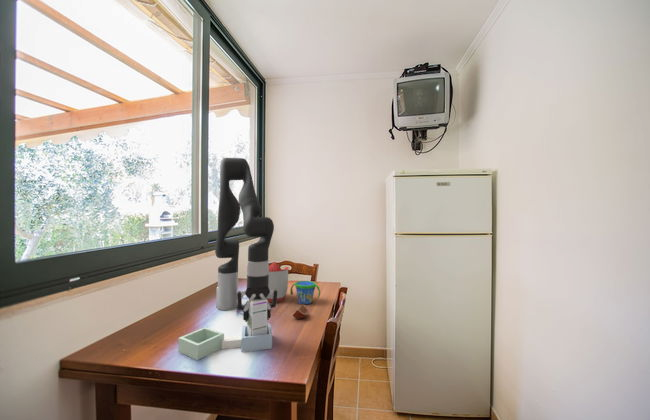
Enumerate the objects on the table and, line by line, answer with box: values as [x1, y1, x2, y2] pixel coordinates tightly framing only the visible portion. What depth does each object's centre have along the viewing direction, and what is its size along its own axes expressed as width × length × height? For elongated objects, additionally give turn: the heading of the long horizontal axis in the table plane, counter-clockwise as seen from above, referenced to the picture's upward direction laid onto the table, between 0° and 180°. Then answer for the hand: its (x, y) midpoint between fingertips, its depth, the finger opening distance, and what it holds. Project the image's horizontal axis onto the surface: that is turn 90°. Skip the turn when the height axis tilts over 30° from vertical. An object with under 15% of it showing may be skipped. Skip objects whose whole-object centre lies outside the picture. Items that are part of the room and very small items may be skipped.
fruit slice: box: [292, 304, 310, 320], centre depth 120 cm, size 8×7×5 cm
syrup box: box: [246, 297, 268, 336], centre depth 96 cm, size 6×6×14 cm
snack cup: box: [289, 280, 321, 305], centre depth 140 cm, size 16×11×10 cm
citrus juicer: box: [266, 262, 290, 303], centre depth 145 cm, size 16×17×20 cm
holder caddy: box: [177, 323, 273, 361], centre depth 93 cm, size 30×14×4 cm, turn 105°
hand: (257, 320), depth 96 cm, fingers closed on syrup box, 6 cm apart
